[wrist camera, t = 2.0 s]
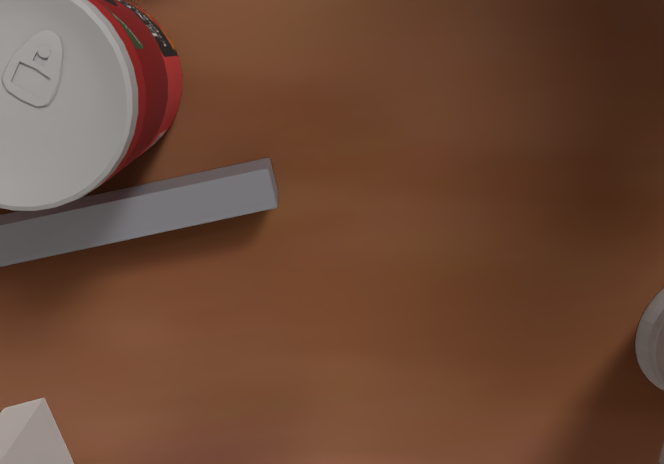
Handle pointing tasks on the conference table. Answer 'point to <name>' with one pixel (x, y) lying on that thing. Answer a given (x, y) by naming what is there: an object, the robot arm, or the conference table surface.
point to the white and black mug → (652, 345)
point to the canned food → (79, 96)
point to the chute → (138, 211)
